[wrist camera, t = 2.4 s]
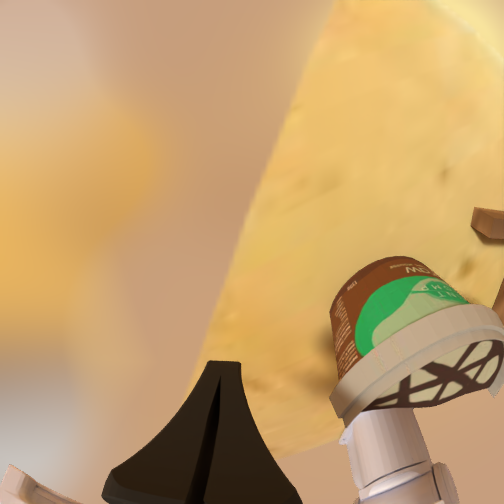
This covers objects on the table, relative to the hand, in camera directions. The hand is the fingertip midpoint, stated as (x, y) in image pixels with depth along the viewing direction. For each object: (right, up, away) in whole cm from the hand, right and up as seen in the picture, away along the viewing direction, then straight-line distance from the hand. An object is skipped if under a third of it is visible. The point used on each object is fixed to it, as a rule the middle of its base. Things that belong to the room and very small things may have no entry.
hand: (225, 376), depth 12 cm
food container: (+12, +3, +8) cm, 15 cm away
